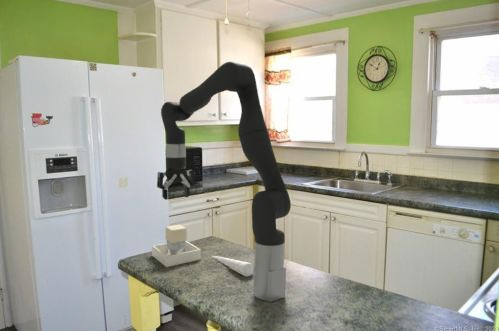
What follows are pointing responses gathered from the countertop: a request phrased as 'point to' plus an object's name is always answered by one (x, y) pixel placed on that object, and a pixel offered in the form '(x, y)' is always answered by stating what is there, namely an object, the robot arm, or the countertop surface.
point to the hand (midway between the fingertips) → (176, 198)
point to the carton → (176, 233)
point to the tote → (188, 256)
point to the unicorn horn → (237, 265)
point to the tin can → (175, 248)
